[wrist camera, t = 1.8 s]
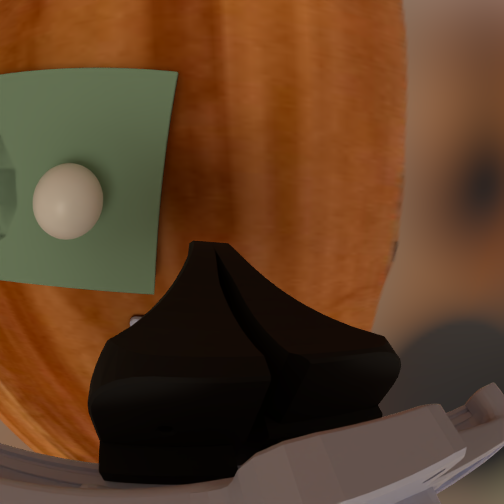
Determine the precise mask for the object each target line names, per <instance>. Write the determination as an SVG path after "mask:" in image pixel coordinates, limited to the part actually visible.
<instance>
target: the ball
mask: <svg viewBox="0 0 504 504" xmlns="http://www.w3.org/2000/svg"><path fill="white" fill-rule="evenodd" d="M102 207H103V192H102V188H101V185H100V183H99V181H98V179H97V177H96V176H95V175H94V174H93V173H92V172H91V171H90V170H89V169H87V168H86V167H84V166H82V165H79V164H75V163H65V164H60V165H57V166H55V167H53V168H51V169H50V170H48V171H47V172H46V173H45V174H44V175H43V176H42V177H41V179H40V180H39V182H38V184H37V185H36V188H35V191H34V195H33V212H34V216H35V218H36V220H37V222H38V224H39V225H40V227H41V228H42V229H43V230H44V231H45V232H46V233H47V234H49V235H51V236H52V237H55V238H58V239H63V240H69V239H75V238H78V237H80V236H82V235H84V234H86V233H87V232H88V231H89V230H91V229H92V227H93V226H94V225H95V224H96V222H97V221H98V219H99V217H100V214H101V211H102Z"/></svg>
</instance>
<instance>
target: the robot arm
mask: <svg viewBox="0 0 504 504" xmlns="http://www.w3.org/2000/svg"><path fill="white" fill-rule="evenodd" d="M400 368H401V362H400V358H399V357H398V355H397V354H396V353H395V351H394V350H393V348H392V347H391V345H390V344H389V342H388V341H387V340H386V338H385V337H384V336H381V335H377V334H374V333H371V332H368V331H365V330H361V329H358V328H355V327H352V326H349V325H347V324H344V323H342V322H339V321H337V320H334V319H332V318H330V317H328V316H325V315H323V314H321V313H319V312H317V311H315V310H314V309H312V308H310V307H308V306H306V305H304V304H302V303H301V302H299V301H297V300H296V299H294V298H293V297H291V296H290V295H288V294H286V293H285V292H283V291H282V290H281V289H279V288H278V287H276V286H275V285H274V284H273V283H271V282H270V281H269V280H268V279H266V278H265V277H264V276H263V275H262V274H260V273H259V272H258V271H257V270H256V269H255V268H254V267H252V266H251V265H250V264H249V263H248V262H247V261H246V260H245V259H244V258H243V257H242V256H241V255H240V254H239V253H238V252H237V251H236V250H235V249H234V248H233V247H232V246H230V245H229V244H228V243H216V242H203V241H192V242H191V243H189V252H188V256H187V259H186V261H185V263H184V266H183V268H182V270H181V271H180V273H179V275H178V276H177V278H176V280H175V281H174V283H173V284H172V286H171V287H170V288H169V290H168V291H167V292H166V294H165V295H164V296H163V297H162V298H161V299H160V300H159V302H158V303H157V304H156V305H155V306H154V307H153V308H152V309H151V310H150V311H149V312H148V313H146V314H145V315H144V316H143V317H137V316H135V317H132V318H131V319H130V327H129V328H128V329H126V330H124V331H123V332H121V333H119V334H118V335H116V336H115V337H113V338H111V339H109V340H108V341H107V342H106V344H105V346H104V348H103V350H102V352H101V354H100V357H99V359H98V361H97V364H96V366H95V369H94V373H93V376H92V379H91V384H90V390H89V397H88V410H89V414H90V417H91V420H92V422H93V425H94V428H95V430H96V433H97V435H98V437H99V440H100V448H99V464H96V463H89V462H82V461H75V460H69V459H64V458H58V457H53V456H48V455H44V454H39V453H35V452H30V451H26V450H23V449H19V448H15V447H11V446H8V445H4V444H1V443H0V504H441V502H440V500H439V498H438V496H437V493H439V492H441V491H442V490H444V489H446V488H447V487H449V486H450V485H452V484H454V483H455V482H456V481H458V480H459V479H461V478H463V477H464V476H466V475H467V474H468V473H470V472H471V471H473V470H474V469H476V468H477V467H478V466H480V465H481V464H482V463H484V462H485V461H486V460H488V459H489V458H490V457H491V456H492V455H493V454H495V453H496V452H497V451H498V450H499V449H501V448H502V447H503V446H504V395H503V393H502V392H501V390H500V389H499V388H498V387H497V385H496V384H495V383H491V384H489V385H487V386H485V387H483V388H481V389H479V390H478V391H477V392H475V393H474V394H473V395H472V396H471V397H470V399H469V400H468V401H467V402H466V405H463V406H461V407H459V408H457V409H455V410H452V411H450V412H448V413H445V411H444V410H443V408H442V407H441V405H440V404H429V405H421V406H418V407H415V408H412V409H409V410H405V411H402V412H399V413H396V414H392V415H389V416H385V417H382V412H381V410H380V408H379V407H378V404H379V403H380V401H381V400H382V399H383V398H384V396H385V395H386V394H387V392H388V391H389V390H390V388H391V387H392V385H393V384H394V383H395V381H396V379H397V378H398V375H399V372H400ZM381 417H382V418H381Z"/></svg>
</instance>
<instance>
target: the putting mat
mask: <svg viewBox="0 0 504 504" xmlns="http://www.w3.org/2000/svg"><path fill="white" fill-rule="evenodd" d="M177 79H178V72H172V71H161V70H148V69H129V68H67V69H49V70H37V71H26V72H17V73H10V74H2V75H0V280H5V281H13V282H21V283H29V284H38V285H48V286H57V287H67V288H78V289H89V290H100V291H113V292H126V293H140V294H154V288H155V275H156V255H157V239H158V225H159V213H160V201H161V191H162V182H163V173H164V164H165V156H166V148H167V141H168V134H169V127H170V120H171V114H172V108H173V101H174V96H175V90H176V84H177ZM65 163H75V164H79V165H82V166H84V167H86V168H87V169H89V170H90V171H91V172H92V173H93V174H94V175H95V176H96V177H97V179H98V181H99V183H100V185H101V188H102V192H103V207H102V211H101V214H100V217H99V219H98V221H97V222H96V224H95V225H94V226H93V227H92V229H91V230H89V231H88V232H87V233H86V234H84V235H82V236H80V237H78V238H75V239H69V240H63V239H58V238H55V237H52V236H51V235H49V234H47V233H46V232H45V231H44V230H43V229H42V228H41V227H40V225H39V224H38V222H37V220H36V218H35V216H34V212H33V195H34V191H35V188H36V185H37V184H38V182H39V180H40V179H41V177H42V176H43V175H44V174H45V173H46V172H47V171H48V170H50V169H51V168H53V167H55V166H57V165H60V164H65Z"/></svg>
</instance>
